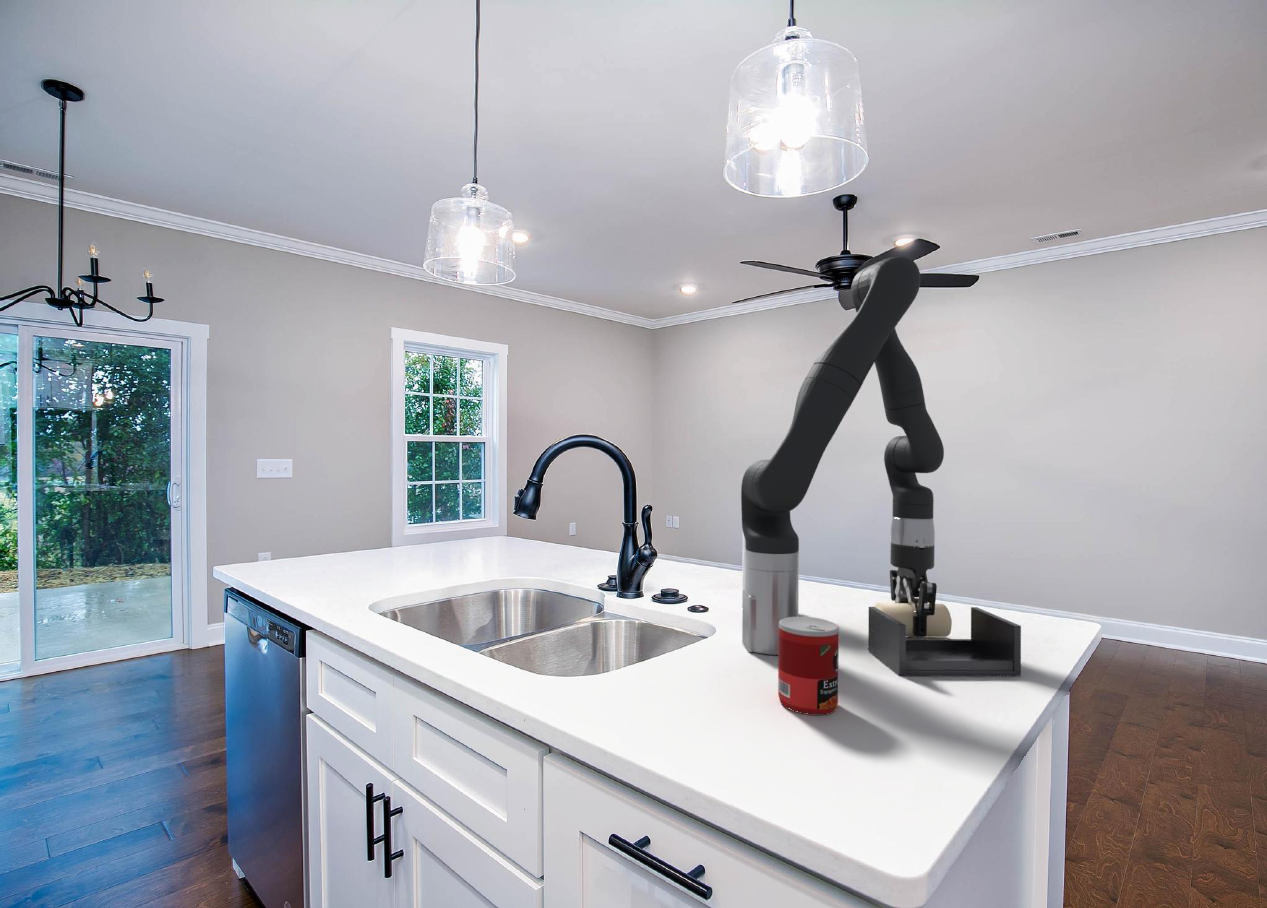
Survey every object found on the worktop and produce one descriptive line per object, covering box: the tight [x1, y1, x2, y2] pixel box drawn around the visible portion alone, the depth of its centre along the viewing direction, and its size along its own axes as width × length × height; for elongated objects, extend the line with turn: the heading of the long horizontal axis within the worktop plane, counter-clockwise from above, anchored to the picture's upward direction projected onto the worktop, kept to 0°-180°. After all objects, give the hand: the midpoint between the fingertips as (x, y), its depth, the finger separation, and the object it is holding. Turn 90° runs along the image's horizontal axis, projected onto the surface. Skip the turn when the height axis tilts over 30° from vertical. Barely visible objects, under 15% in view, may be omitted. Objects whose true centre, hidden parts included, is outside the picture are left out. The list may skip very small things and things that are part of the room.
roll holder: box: [867, 606, 1022, 677], centre depth 101 cm, size 19×12×8 cm, turn 91°
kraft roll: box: [874, 602, 953, 638], centre depth 116 cm, size 14×6×6 cm, turn 91°
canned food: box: [777, 616, 840, 715], centre depth 84 cm, size 8×8×11 cm
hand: (911, 631), depth 116 cm, fingers closed on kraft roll, 6 cm apart
